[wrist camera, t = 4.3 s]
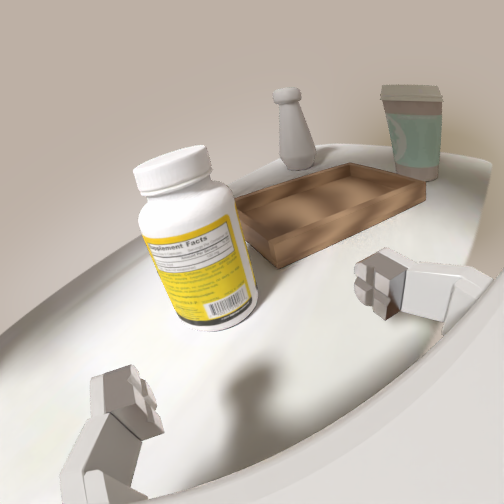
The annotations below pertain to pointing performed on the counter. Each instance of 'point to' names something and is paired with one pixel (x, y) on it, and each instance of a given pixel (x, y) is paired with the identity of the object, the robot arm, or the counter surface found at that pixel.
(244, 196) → the tray
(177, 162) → the supplement bottle
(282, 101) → the salt shaker
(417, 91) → the coffee cup
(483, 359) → the robot arm
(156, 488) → the counter surface
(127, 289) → the counter surface
